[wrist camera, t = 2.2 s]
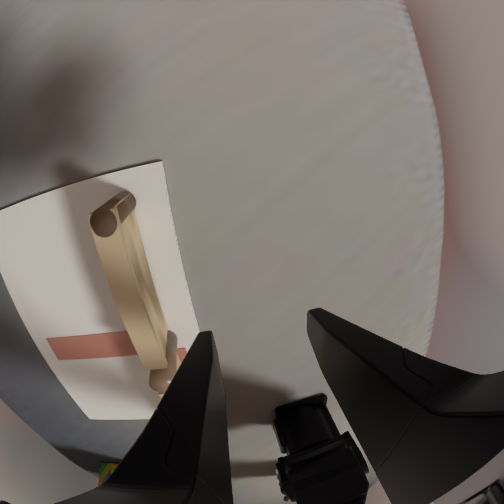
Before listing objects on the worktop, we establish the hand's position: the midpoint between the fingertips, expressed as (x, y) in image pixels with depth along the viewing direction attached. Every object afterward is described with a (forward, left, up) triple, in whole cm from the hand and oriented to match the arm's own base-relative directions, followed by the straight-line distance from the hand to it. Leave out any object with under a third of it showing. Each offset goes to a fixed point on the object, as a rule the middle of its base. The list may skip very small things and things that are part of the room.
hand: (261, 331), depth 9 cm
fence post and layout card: (+12, +8, -12) cm, 19 cm away
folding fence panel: (+6, +2, -12) cm, 13 cm away
